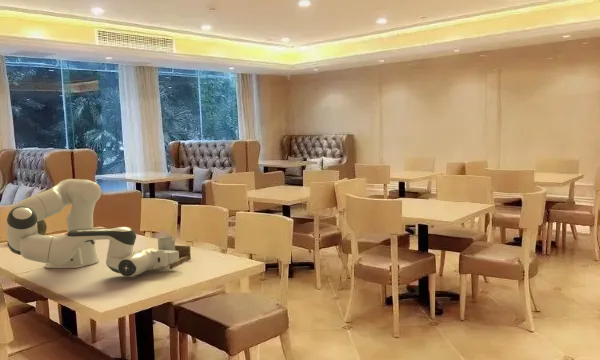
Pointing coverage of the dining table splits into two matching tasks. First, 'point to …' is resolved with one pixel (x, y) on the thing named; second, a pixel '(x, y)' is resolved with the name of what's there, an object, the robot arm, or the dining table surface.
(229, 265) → the dining table surface
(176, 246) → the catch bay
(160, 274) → the dining table surface
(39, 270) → the dining table surface
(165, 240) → the can
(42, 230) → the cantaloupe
